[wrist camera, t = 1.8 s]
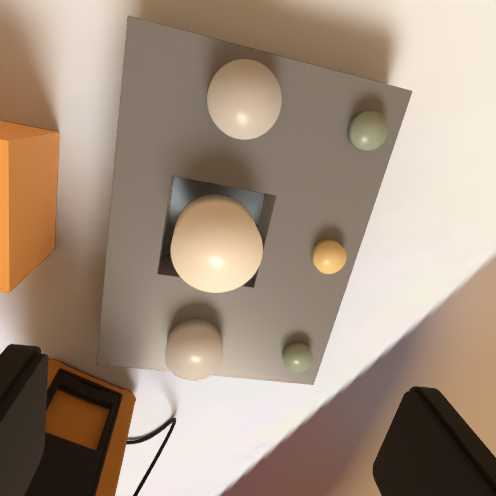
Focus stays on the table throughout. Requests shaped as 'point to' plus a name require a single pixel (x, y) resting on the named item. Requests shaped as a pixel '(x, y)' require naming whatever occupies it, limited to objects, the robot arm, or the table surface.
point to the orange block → (26, 199)
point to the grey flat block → (243, 177)
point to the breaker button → (216, 244)
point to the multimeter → (85, 435)
